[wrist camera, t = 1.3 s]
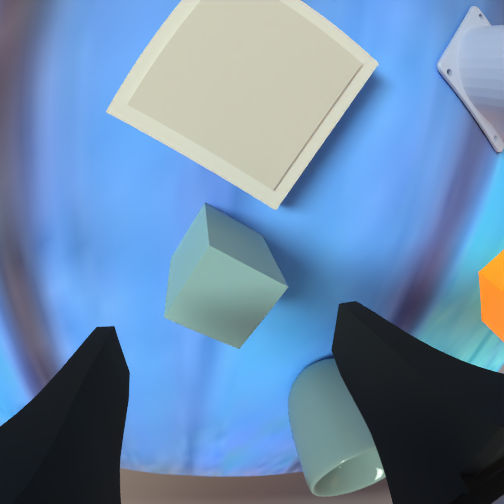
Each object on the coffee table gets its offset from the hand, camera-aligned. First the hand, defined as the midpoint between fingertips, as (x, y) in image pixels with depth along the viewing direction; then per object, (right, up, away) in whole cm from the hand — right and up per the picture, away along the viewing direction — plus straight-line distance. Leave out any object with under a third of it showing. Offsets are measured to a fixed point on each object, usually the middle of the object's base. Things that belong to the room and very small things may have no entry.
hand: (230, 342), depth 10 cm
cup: (+7, -8, +16) cm, 19 cm away
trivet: (0, +12, +6) cm, 14 cm away
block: (-1, +3, +9) cm, 10 cm away
